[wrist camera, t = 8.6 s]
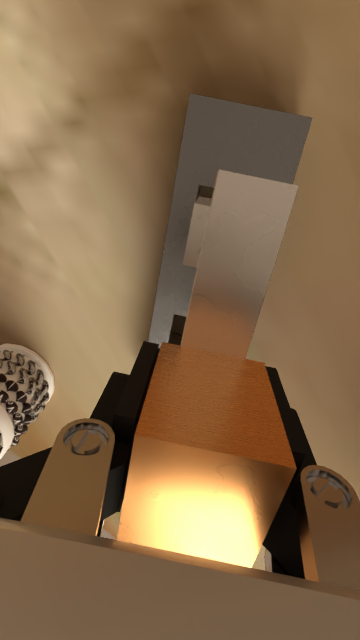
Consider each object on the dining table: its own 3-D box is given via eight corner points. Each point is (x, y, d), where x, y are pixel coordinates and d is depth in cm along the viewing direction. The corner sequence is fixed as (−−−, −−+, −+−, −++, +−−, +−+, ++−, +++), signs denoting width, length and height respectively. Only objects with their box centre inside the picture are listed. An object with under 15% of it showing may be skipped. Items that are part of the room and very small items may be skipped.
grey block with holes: (297, 128, 24) (312, 117, 21) (222, 389, 34) (223, 414, 30) (193, 107, 24) (189, 93, 21) (146, 373, 34) (139, 396, 30)
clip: (268, 187, 15) (420, 197, 4) (204, 417, 21) (199, 680, 10) (201, 173, 15) (183, 148, 4) (155, 407, 21) (96, 659, 10)
